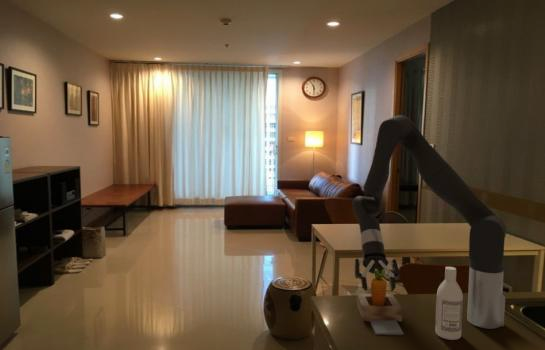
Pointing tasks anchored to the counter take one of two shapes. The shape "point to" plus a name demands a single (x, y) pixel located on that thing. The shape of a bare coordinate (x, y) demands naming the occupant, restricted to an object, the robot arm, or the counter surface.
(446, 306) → the bath foam
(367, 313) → the holder
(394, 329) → the plate
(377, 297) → the carrot
